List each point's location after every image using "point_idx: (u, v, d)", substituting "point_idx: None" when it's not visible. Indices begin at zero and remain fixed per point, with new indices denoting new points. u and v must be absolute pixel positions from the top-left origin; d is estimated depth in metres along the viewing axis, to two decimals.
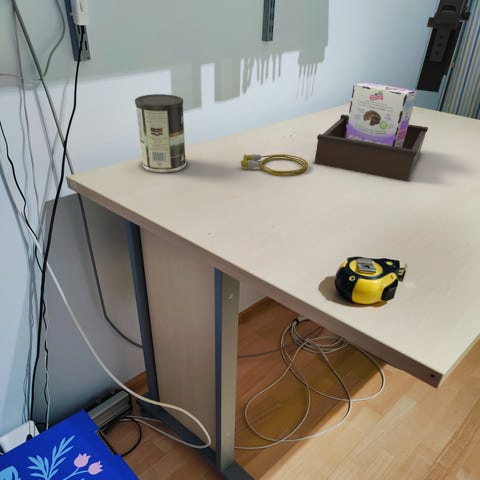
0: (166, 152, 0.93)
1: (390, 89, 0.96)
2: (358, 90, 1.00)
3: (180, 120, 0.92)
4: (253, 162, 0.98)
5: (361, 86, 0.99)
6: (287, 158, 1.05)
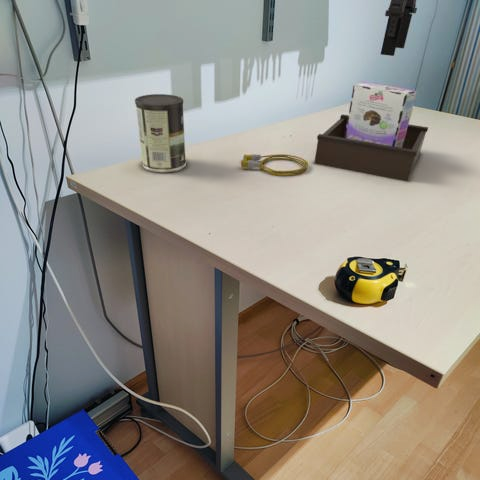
0: (166, 152, 0.93)
1: (390, 89, 0.96)
2: (358, 90, 1.00)
3: (180, 120, 0.92)
4: (253, 162, 0.98)
5: (361, 86, 0.99)
6: (287, 158, 1.05)
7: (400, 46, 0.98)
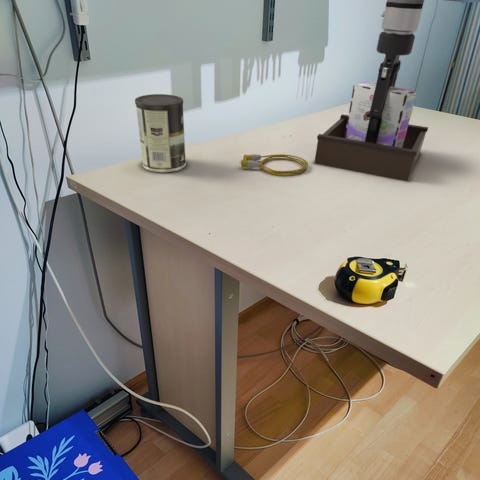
0: (166, 152, 0.93)
1: (390, 89, 0.96)
2: (358, 90, 1.00)
3: (180, 120, 0.92)
4: (253, 162, 0.98)
5: (361, 86, 0.99)
6: (287, 158, 1.05)
7: None
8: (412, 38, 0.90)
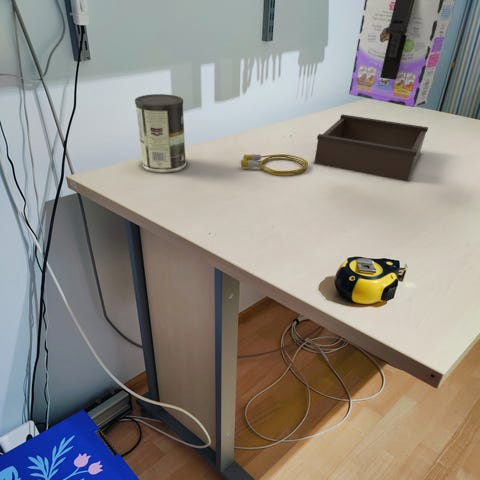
0: (166, 152, 0.93)
1: None
2: None
3: (180, 120, 0.92)
4: (253, 162, 0.98)
5: None
6: (287, 158, 1.05)
7: None
8: None
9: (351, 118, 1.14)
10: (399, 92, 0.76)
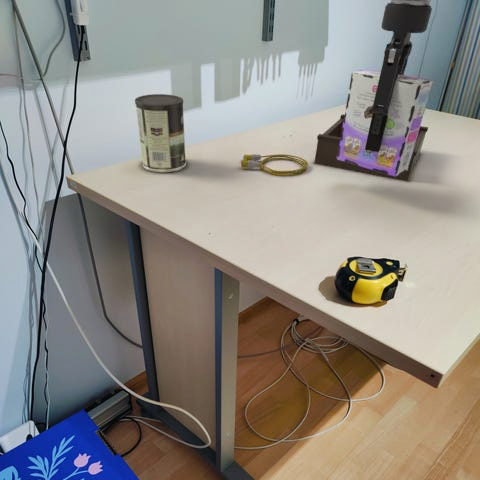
0: (166, 152, 0.93)
1: (399, 78, 0.75)
2: (357, 80, 0.79)
3: (180, 120, 0.92)
4: (253, 162, 0.98)
5: (361, 74, 0.78)
6: (287, 158, 1.05)
7: None
8: (428, 10, 0.69)
9: None
10: (382, 162, 0.83)
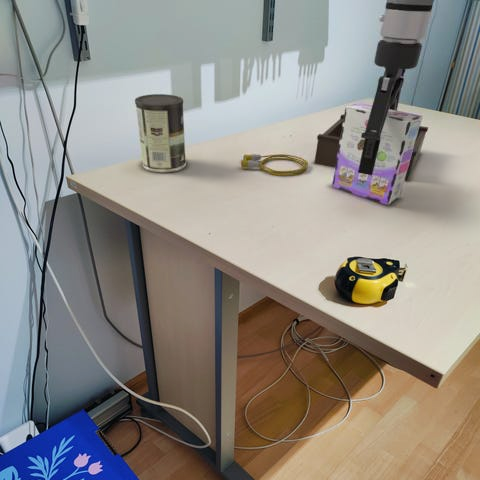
0: (166, 152, 0.93)
1: (390, 114, 0.79)
2: (351, 114, 0.83)
3: (180, 120, 0.92)
4: (253, 162, 0.98)
5: (354, 109, 0.82)
6: (287, 158, 1.05)
7: None
8: (419, 48, 0.72)
9: None
10: (374, 191, 0.86)
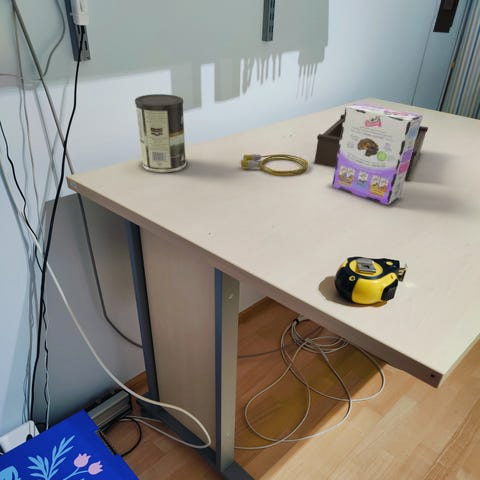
0: (166, 152, 0.93)
1: (390, 114, 0.79)
2: (351, 114, 0.83)
3: (180, 120, 0.92)
4: (253, 162, 0.98)
5: (354, 109, 0.82)
6: (287, 158, 1.05)
7: None
8: None
9: None
10: (374, 191, 0.86)
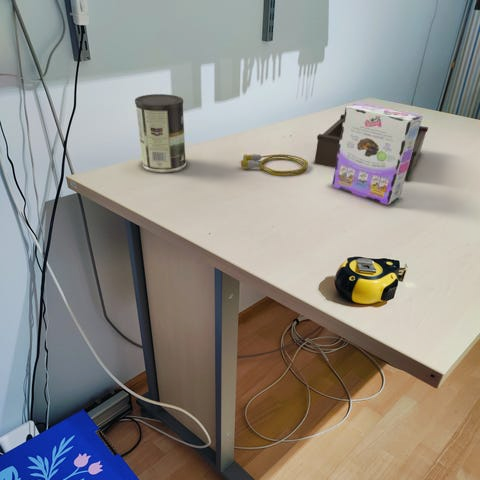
0: (166, 152, 0.93)
1: (390, 114, 0.79)
2: (351, 114, 0.83)
3: (180, 120, 0.92)
4: (253, 162, 0.98)
5: (354, 109, 0.82)
6: (287, 158, 1.05)
7: None
8: None
9: None
10: (374, 191, 0.86)
